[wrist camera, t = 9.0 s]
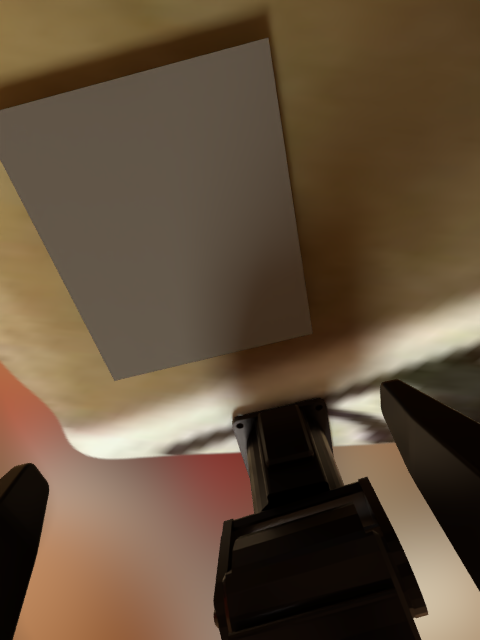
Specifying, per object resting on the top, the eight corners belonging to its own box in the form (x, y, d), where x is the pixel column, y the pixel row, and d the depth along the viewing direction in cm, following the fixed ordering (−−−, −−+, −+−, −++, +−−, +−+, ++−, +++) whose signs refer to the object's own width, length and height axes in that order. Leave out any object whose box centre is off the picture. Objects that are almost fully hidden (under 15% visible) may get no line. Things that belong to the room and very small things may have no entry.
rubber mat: (308, 324, 22) (312, 333, 21) (118, 370, 22) (114, 380, 21) (264, 42, 15) (268, 37, 14) (-10, 116, 15) (-23, 116, 15)
